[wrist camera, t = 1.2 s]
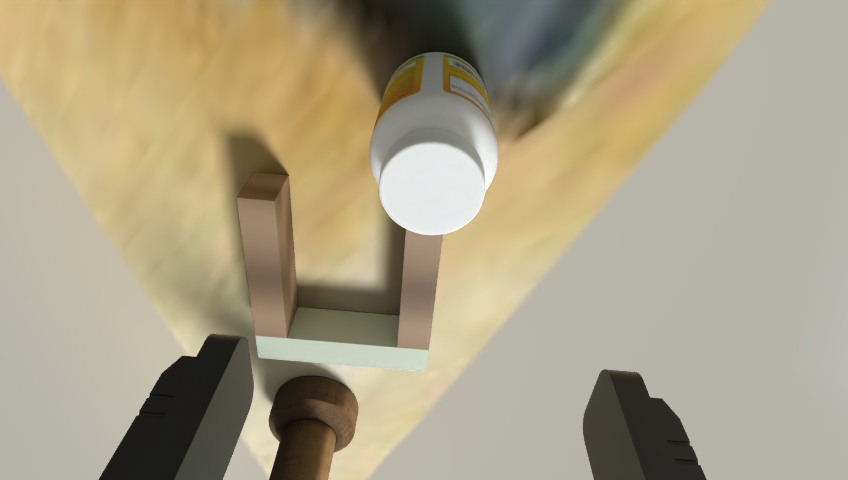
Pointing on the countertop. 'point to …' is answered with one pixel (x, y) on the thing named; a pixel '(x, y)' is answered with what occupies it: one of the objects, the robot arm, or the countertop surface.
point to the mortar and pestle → (310, 426)
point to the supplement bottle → (434, 144)
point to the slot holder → (321, 328)
